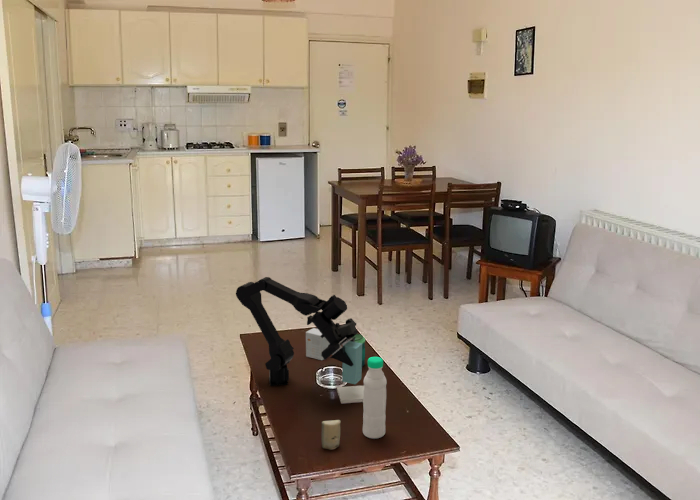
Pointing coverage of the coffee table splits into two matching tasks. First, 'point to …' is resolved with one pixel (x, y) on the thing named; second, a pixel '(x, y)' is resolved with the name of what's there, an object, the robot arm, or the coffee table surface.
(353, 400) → the cream tile
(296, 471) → the coffee table surface
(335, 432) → the power adapter
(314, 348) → the small box
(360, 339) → the cup
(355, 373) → the teal block
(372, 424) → the water bottle
